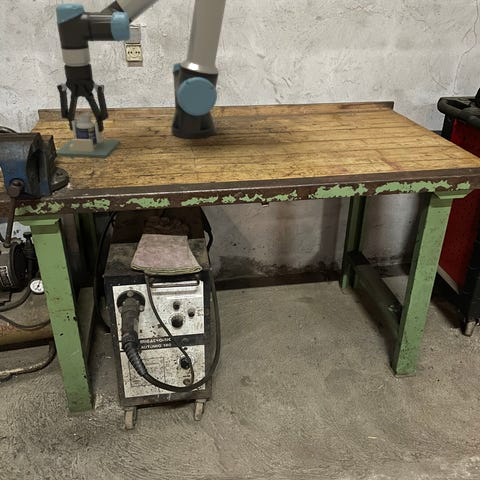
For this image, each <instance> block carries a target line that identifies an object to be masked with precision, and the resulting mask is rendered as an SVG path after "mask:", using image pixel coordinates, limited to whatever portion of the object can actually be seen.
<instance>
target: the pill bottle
mask: <svg viewBox="0 0 480 480" xmlns="http://www.w3.org/2000/svg"><path fill="white" fill-rule="evenodd" d="M76 117H77V120H78V123H77V124H76V127H77V134H78V139H92V141H93V148H94V147H96V146H97V140H96V132H95V124H94V122H95V121H92V115H91V114H90V113H80V114H78V115H77V116H76Z"/></svg>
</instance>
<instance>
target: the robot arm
mask: <svg viewBox="0 0 480 480" xmlns="http://www.w3.org/2000/svg"><path fill="white" fill-rule="evenodd" d="M158 2H159V0H114V1H112V2H111V3H110V4H109V5H108V6H106V7H104V8H103V9H102V10H101V11H98V12H97V11H95V12H93V11H92V12H90V11H89V12H88V11H86V10H85V8H84V7H85V6H84V5H83V4H80V3H63V4H58V5H57V6H56V7H55V14H56V25H57V29H58V30H57V31H58V36H59V42H60V47H61V54H62V61H63V63H64V66H63V68H64V74H65V80H66V81H65V83H59V84H58V85H57V86H56V89H57V92H58V93H59V102H60V105H59V106H60V113H61V118H62V119H65V120H67V121H68V125H69V130H70V131H71V132H72V131H73V132H72V133H73V138H74V139H78V134H77V127H76V124H77V123H78V122H79V121H78V118H76V111H77V105H78V99H79V98H80V97H82V98H85V100H86V101H87V103H88V105H89V107H90V109H91V111H92V114H93V116H94V118H95V121H93V122H94V124H95V131H96V139H97V143H100V142H101V141H102V137H103V132H104V129H105V128H104V121H106V120H107V119H108V118H109V112H108V107H107V103H106V97H105V85H104V84H101V85H100V84H97V83H96V82H95V81H94V79H93V77H94V76H93V75H94V74H93V69H92V64H91V63H90V62H91V54H90V47H89V45H90V44H89V42H117V43H118V42H119V43H120V42H124V41H125V42H126V41H129V40H130V39H131V28H130V25H131V24H132V23H133V22H134V21H135V20H137V19H138V18H139V17H140V16H142V15H143V14H145V12H146V11H148V10H149V9H150V8H152V7H153V6H154V5H155V4H156V3H158ZM226 3H227V0H194V6H193V13H192V18H191V27H190V33H189V39H188V46H187V54H186V59H185V60H184V61H181V62H177V63H174V64H173V66H172V69H173V71H172V74H173V90H174V91H173V92H174V108H175V109H174V110H175V111H174V114H173V118H172V120H171V121H172V122H171V127H170V129H171V131H170V132H171V134H172V135H173V136H175V137H177V138H183V139H203V138H209V137H210V136H213V135H214V134H216V124H215V121H214V119H213V116H212V112H211V110H213V108H214V107H215V105H216V103H217V99H218V92H217V84H218V78H219V73H220V71H219V69H218V68H217V66H216V61H217V54H218V48H219V44H220V37H221V31H222V26H223V20H224V15H225V8H226ZM68 90H69V91H70V97H69V99H70V101H69V104H68V92H67V91H68ZM93 90H95V93H96V95H97V100H98V101H97V102H98V103H97V102H96V99H95V95H94V93H93ZM101 132H102V133H101Z"/></svg>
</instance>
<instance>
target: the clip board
mask: <svg viewBox="0 0 480 480" xmlns="http://www.w3.org/2000/svg"><path fill="white" fill-rule="evenodd" d="M95 132H96V131H95ZM101 133H102V134H103V131H102V132H101ZM96 140H97V139H96ZM121 144H122V142H121V140H120V139H119V140H118V139H116V140H115V139H104V138H103V136H102V141H101V142H100V143H97V146H96V147H94V148H93V141H92V139H74V137H73V138H71V139H69V141H68V142H66V143H65V144H64V145H62V146H61V147H60V148H59V149H57V150H56V151H55V152H56V153H57V156H56V157H65V158H66V157H69V158H70V157H71V158H91V159H93V158H94V159H107V158H108V157H109V156H111V154H113V152H114V151H115V150H116V149H117V148H118V147H119V146H120V145H121Z"/></svg>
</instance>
